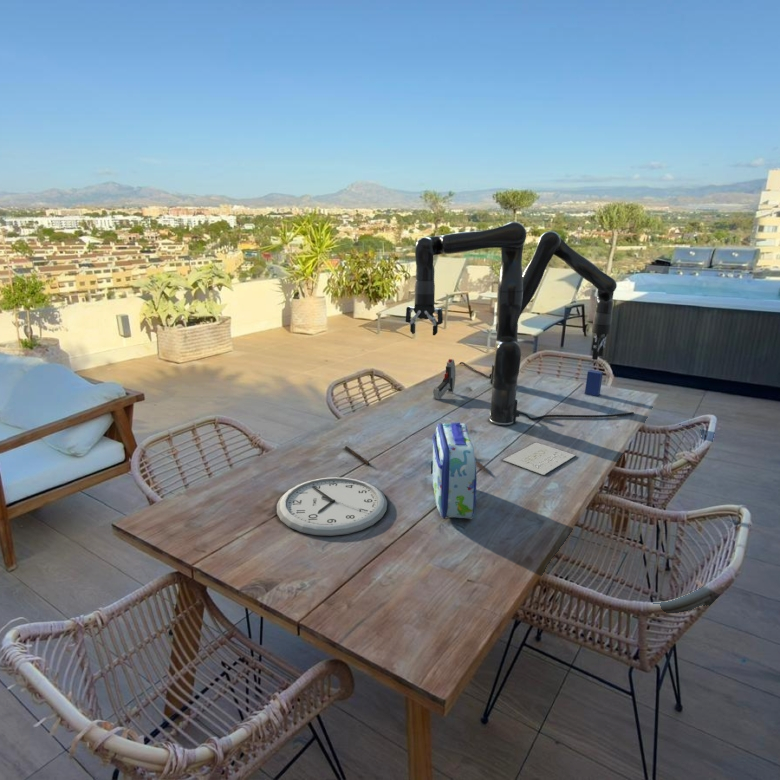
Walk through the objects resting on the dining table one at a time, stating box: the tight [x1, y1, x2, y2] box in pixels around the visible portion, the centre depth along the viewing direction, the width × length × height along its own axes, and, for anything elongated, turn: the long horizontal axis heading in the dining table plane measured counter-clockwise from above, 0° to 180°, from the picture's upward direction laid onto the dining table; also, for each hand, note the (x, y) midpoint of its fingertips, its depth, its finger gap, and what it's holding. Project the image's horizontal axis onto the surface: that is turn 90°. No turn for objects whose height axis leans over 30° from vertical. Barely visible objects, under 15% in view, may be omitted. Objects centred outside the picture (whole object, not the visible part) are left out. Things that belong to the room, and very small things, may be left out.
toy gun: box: [433, 358, 456, 400], centre depth 235 cm, size 2×16×15 cm
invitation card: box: [502, 442, 577, 476], centre depth 174 cm, size 21×1×15 cm
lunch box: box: [430, 422, 478, 520], centre depth 143 cm, size 26×11×21 cm, turn 179°
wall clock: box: [276, 476, 388, 537], centre depth 142 cm, size 30×2×30 cm
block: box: [584, 369, 604, 397], centre depth 242 cm, size 4×6×11 cm
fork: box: [475, 459, 488, 474], centre depth 169 cm, size 3×16×2 cm, turn 15°
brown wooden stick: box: [344, 445, 370, 465], centre depth 173 cm, size 15×1×1 cm, turn 34°
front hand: (423, 334), depth 203 cm, fingers open, 8 cm apart
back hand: (597, 357), depth 239 cm, fingers open, 8 cm apart
